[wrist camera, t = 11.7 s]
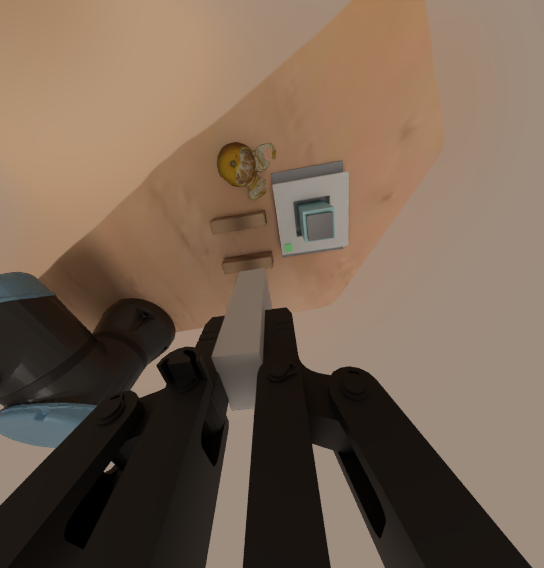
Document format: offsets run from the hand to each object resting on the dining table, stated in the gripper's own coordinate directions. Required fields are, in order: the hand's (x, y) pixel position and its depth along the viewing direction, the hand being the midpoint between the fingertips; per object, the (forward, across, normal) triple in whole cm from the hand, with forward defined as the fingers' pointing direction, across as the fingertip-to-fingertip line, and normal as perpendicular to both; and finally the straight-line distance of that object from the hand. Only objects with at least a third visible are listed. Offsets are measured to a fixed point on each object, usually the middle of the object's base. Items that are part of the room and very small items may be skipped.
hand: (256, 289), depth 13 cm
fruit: (+27, -2, +7) cm, 28 cm away
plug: (+25, +8, 0) cm, 26 cm away
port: (+26, +8, 0) cm, 27 cm away
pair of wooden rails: (+26, -4, -4) cm, 27 cm away
